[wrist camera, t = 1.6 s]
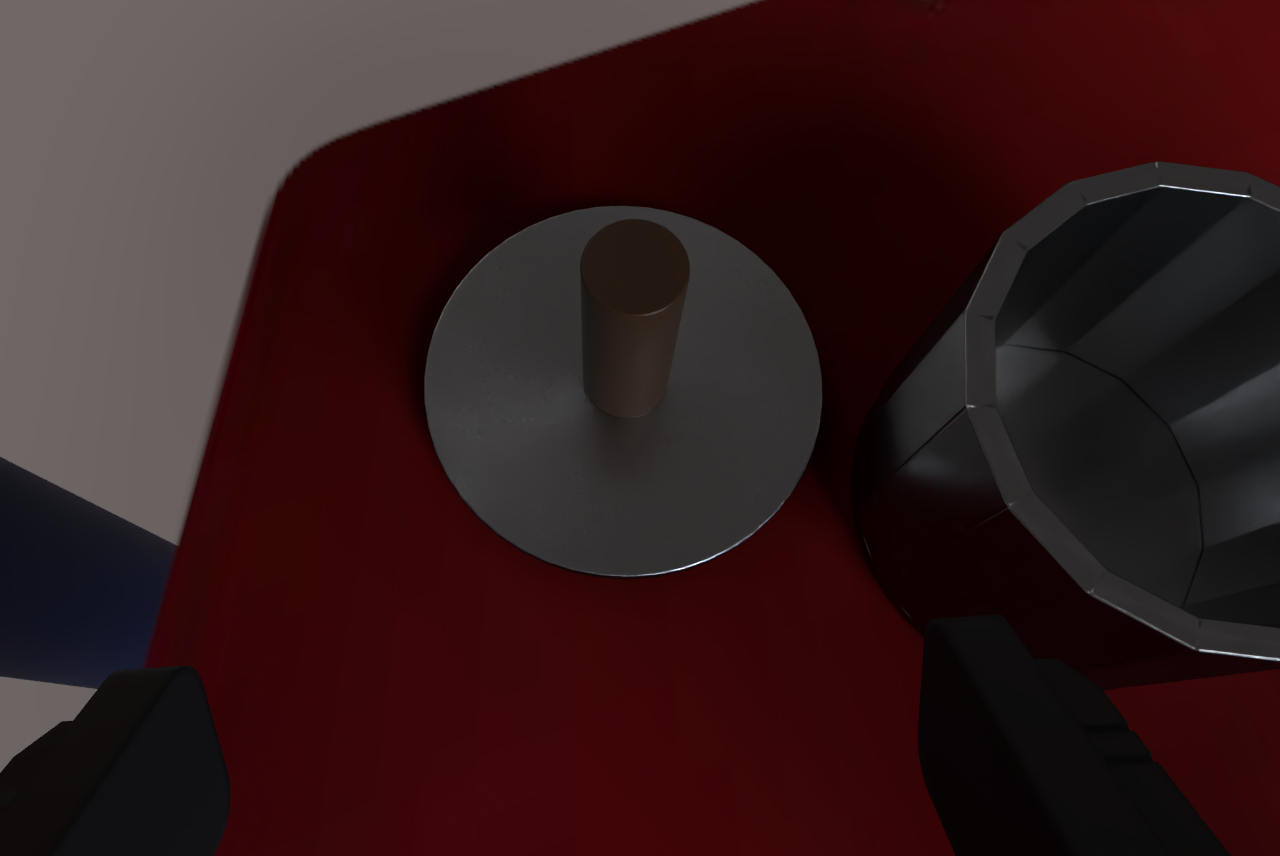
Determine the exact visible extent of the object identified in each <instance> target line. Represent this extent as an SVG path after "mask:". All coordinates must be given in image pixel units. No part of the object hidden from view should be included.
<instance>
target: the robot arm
mask: <svg viewBox="0 0 1280 856" xmlns="http://www.w3.org/2000/svg"><path fill="white" fill-rule="evenodd" d="M918 749H919V757H920V763H921V769H922V773H923V777H924V781H925V784H926V787H927V790H928V792H929V795H930V797H931V800H932V802H933V804H934V807H935V809H936V811H937V813H938V816H939V818H940V820H941V823H942V825H943V827H944V830H945V832H946V834H947V836H948V839H949V841H950V843H951V846H952V848H953V850H954V853H955V855H956V856H1230V854H1229V853H1228V852H1227V851H1226V849H1225V848H1224V847H1223V845H1222V844H1221V843H1220V841H1219V840H1218V839H1217V838H1216V836H1215V835H1214V834H1213V832H1212V831H1211V830H1210V829H1209V827H1208V826H1207V825H1206V823H1205V822H1204V821H1203V819H1202V818H1201V817H1200V816H1199V814H1198V813H1197V812H1196V810H1195V809H1194V808H1193V807H1192V805H1191V804H1190V803H1189V801H1188V800H1187V799H1186V797H1185V796H1184V795H1183V794H1182V792H1181V791H1180V790H1179V788H1178V787H1177V786H1176V785H1175V783H1174V782H1173V781H1172V779H1171V778H1170V777H1169V775H1168V774H1167V773H1166V772H1165V770H1164V769H1163V768H1162V766H1161V765H1160V764H1159V763H1158V762H1153V760H1152V753H1151V752H1150V751H1149V750H1148V748H1147V747H1146V746H1145V744H1144V743H1143V742H1142V741H1141V739H1140V738H1139V737H1138V735H1137V734H1136V733H1135V731H1130V730H1129V728H1128V722H1127V721H1126V720H1125V719H1124V717H1123V716H1122V715H1121V713H1120V712H1119V711H1118V709H1117V708H1116V707H1115V706H1114V704H1113V703H1112V702H1111V700H1110V699H1109V698H1108V697H1107V695H1106V694H1105V693H1104V691H1103V690H1102V689H1101V687H1099V686H1098V685H1096V684H1095V683H1093V682H1092V681H1091V680H1089V679H1088V678H1086V677H1085V676H1083V675H1082V674H1080V673H1079V672H1077V671H1076V670H1074V669H1073V668H1071V667H1070V666H1069V665H1067V664H1066V663H1064V662H1063V661H1061V660H1060V659H1058V658H1046V659H1034V658H1033V656H1032V655H1031V654H1030V652H1029V651H1028V649H1027V648H1026V646H1025V645H1024V644H1023V642H1022V641H1021V639H1020V638H1019V636H1018V635H1017V634H1016V632H1015V631H1014V629H1013V628H1012V626H1011V625H1010V624H1009V622H1008V621H1007V620H1006V619H1005V618H1004V617H1003V616H1002V615H999V614H997V615H982V616H967V617H952V618H937V619H931V620H930V621H929V622H928V624H927V627H926V631H925V637H924V650H923V664H922V678H921V692H920V706H919V720H918ZM229 807H230V782H229V776H228V772H227V768H226V764H225V761H224V757H223V754H222V750H221V746H220V743H219V739H218V736H217V732H216V729H215V725H214V721H213V718H212V714H211V711H210V707H209V703H208V700H207V696H206V693H205V689H204V685H203V682H202V680H201V677H200V675H199V674H198V672H197V671H196V670H195V669H194V668H193V667H191V666H176V667H161V668H145V669H130V670H118V671H116V672H114V673H112V674H111V675H109V677H108V678H107V679H106V680H105V681H104V682H103V684H102V685H101V686H100V687H99V689H98V690H97V691H96V692H95V694H94V695H93V696H92V697H91V699H90V700H89V701H88V703H87V704H86V705H85V707H84V708H83V709H82V710H81V712H80V713H79V714H78V715H77V717H76V718H75V719H74V720H73V721H63V722H61V723H59V724H58V725H57V726H55V727H54V728H52V729H51V730H50V731H48V732H47V733H46V734H44V735H43V736H42V737H40V738H39V739H38V740H36V741H35V742H33V743H32V744H31V745H29V746H28V747H27V748H25V749H24V750H23V751H21V752H20V753H19V754H17V755H16V756H14V757H13V758H12V760H11V761H10V762H9V763H8V765H7V766H6V767H5V768H4V769H3V771H2V772H1V773H0V856H213V855H214V853H215V851H216V849H217V847H218V845H219V843H220V841H221V838H222V836H223V834H224V831H225V827H226V824H227V820H228V814H229Z"/></svg>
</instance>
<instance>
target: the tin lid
mask: <svg viewBox="0 0 1280 856" xmlns="http://www.w3.org/2000/svg"><path fill="white" fill-rule="evenodd" d="M424 404H425V411H426V417H427V424H428V429H429V432H430V436H431V439H432V442H433V445H434V449H435V452H436V454H437V456H438V458H439V460H440V463H441V465H442V467H443V469H444V471H445V473H446V475H447V477H448V479H449V481H450V482H451V484H452V485H453V487H454V488H455V490H456V491H457V493H458V494H459V496H460V497H461V499H462V501H463V502H464V503H465V504H466V505H467V506H468V507H469V509H470V510H471V511H472V512H473V513H474V514H475V515H476V517H477V518H478V519H479V520H480V521H481V522H482V523H483V524H485V525H486V526H487V527H488V528H489V529H490V530H491V531H493V532H494V533H495V534H496V535H497V536H498V537H500V538H501V539H502V540H504V541H506V542H507V543H509V544H510V545H512V546H513V547H515V548H516V549H518V550H519V551H521V552H522V553H524V554H526V555H528V556H531V557H533V558H535V559H537V560H539V561H541V562H543V563H545V564H547V565H550V566H553V567H556V568H560V569H563V570H566V571H569V572H572V573H576V574H581V575H587V576H592V577H597V578H609V579H627V580H629V579H642V578H655V577H660V576H665V575H669V574H674V573H679V572H683V571H686V570H689V569H691V568H694V567H697V566H700V565H703V564H706V563H708V562H710V561H712V560H714V559H716V558H718V557H720V556H722V555H724V554H726V553H728V552H730V551H732V550H733V549H734V548H736V547H737V546H739V545H740V544H742V543H743V542H744V541H746V540H747V539H749V538H750V537H752V536H753V535H754V534H755V533H756V532H757V531H758V530H759V529H761V528H762V527H763V526H764V525H765V524H766V523H767V522H768V521H769V520H770V519H771V518H772V517H773V516H774V515H775V514H776V512H777V511H778V510H779V509H780V507H781V506H782V505H783V504H784V503H785V501H786V500H787V499H788V498H789V496H790V495H791V493H792V492H793V490H794V488H795V487H796V485H797V484H798V482H799V480H800V479H801V477H802V475H803V474H804V471H805V469H806V467H807V464H808V462H809V460H810V457H811V455H812V453H813V450H814V446H815V443H816V439H817V435H818V431H819V428H820V421H821V412H822V404H823V395H822V374H821V368H820V362H819V356H818V352H817V349H816V345H815V342H814V339H813V335H812V332H811V330H810V328H809V326H808V323H807V321H806V319H805V317H804V315H803V312H802V310H801V309H800V307H799V305H798V304H797V302H796V301H795V299H794V297H793V296H792V294H791V292H790V291H789V289H788V288H787V287H786V286H785V284H784V283H783V282H782V281H781V280H780V278H779V277H778V276H777V275H776V273H775V272H774V271H773V270H772V269H771V268H770V267H769V266H768V265H767V264H766V263H765V262H764V261H763V260H761V259H760V258H759V257H758V256H757V255H756V254H755V253H754V252H752V251H751V250H750V249H748V248H747V247H746V246H744V245H743V244H742V243H740V242H739V241H738V240H736V239H734V238H733V237H731V236H729V235H727V234H726V233H724V232H722V231H720V230H719V229H717V228H715V227H713V226H710V225H708V224H706V223H703V222H701V221H699V220H696V219H694V218H691V217H687V216H684V215H681V214H678V213H674V212H671V211H666V210H660V209H655V208H649V207H638V206H623V205H622V206H601V207H593V208H587V209H581V210H575V211H571V212H568V213H564V214H561V215H557V216H554V217H550V218H548V219H546V220H543V221H541V222H538V223H536V224H534V225H531V226H529V227H527V228H525V229H523V230H522V231H520V232H518V233H516V234H515V235H513V236H511V237H509V238H508V239H506V240H505V241H504V242H502V243H501V244H500V245H498V246H497V247H495V248H494V249H493V250H491V251H490V252H489V253H488V254H487V255H486V256H484V257H483V258H482V259H481V260H480V261H479V262H478V263H477V264H476V265H475V266H474V267H473V268H472V269H471V270H470V271H469V273H468V274H467V275H466V276H465V278H464V279H463V280H462V281H461V283H460V284H459V285H458V286H457V288H456V289H455V290H454V292H453V294H452V295H451V297H450V299H449V300H448V302H447V304H446V305H445V307H444V309H443V311H442V313H441V315H440V318H439V320H438V322H437V325H436V327H435V329H434V332H433V335H432V339H431V343H430V346H429V350H428V353H427V360H426V367H425V375H424Z"/></svg>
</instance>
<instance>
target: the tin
mask: <svg viewBox="0 0 1280 856" xmlns="http://www.w3.org/2000/svg"><path fill="white" fill-rule="evenodd" d="M851 502H852V508H853V515H854V521H855V526H856V530H857V533H858V536H859V540H860V543H861V546H862V550H863V552H864V554H865V556H866V559H867V561H868V563H869V566H870V568H871V570H872V572H873V574H874V576H875V577H876V579H877V581H878V582H879V584H880V586H881V588H882V589H883V591H884V593H885V594H886V596H887V597H888V598H889V600H890V601H891V602H892V603H893V605H894V606H895V607H896V609H897V610H898V611H899V613H900V614H901V615H902V616H903V617H904V618H905V619H906V620H907V621H908V622H909V623H910V624H911V625H912V626H913V628H914V629H915V630H916V631H917V632H918V633H919V634H920V635H922V636H923V637H925V631H926V627H927V624H928V622H929V621H930V620H931V619H937V618H952V617H967V616H982V615H997V614H999V615H1002V616H1003V617H1004V618H1005V619H1006V620H1007V621H1008V622H1009V624H1010V625H1011V626H1012V628H1013V629H1014V631H1015V632H1016V634H1017V635H1018V636H1019V638H1020V639H1021V641H1022V642H1023V644H1024V645H1025V646H1026V648H1027V649H1028V651H1029V652H1030V654H1031V655H1032V656H1033V658H1034V659H1046V658H1058V659H1060V660H1061V661H1063V662H1064V663H1066V664H1067V665H1069V666H1070V667H1071V668H1073V669H1074V670H1076V671H1077V672H1079V673H1080V674H1082V675H1083V676H1085V677H1086V678H1088V679H1089V680H1091V681H1092V682H1093V683H1095V684H1096V685H1098V686H1099V687H1101V689H1102V690H1111V689H1119V688H1128V687H1136V686H1144V685H1152V684H1160V683H1168V682H1176V681H1185V680H1193V679H1201V678H1209V677H1217V676H1225V675H1234V674H1242V673H1250V672H1258V671H1266V670H1274V669H1280V187H1279V186H1277V185H1274V184H1272V183H1270V182H1268V181H1266V180H1264V179H1261V178H1259V177H1257V176H1255V175H1252V174H1250V173H1247V172H1239V171H1231V170H1223V169H1215V168H1207V167H1199V166H1191V165H1183V164H1175V163H1167V162H1159V161H1157V162H1155V163H1154V162H1152V163H1148V164H1143V165H1139V166H1135V167H1131V168H1126V169H1122V170H1118V171H1114V172H1110V173H1105V174H1101V175H1097V176H1093V177H1088V178H1084V179H1080V180H1076V181H1072V182H1068V183H1066V184H1065V185H1064V186H1062V187H1061V188H1060V189H1058V190H1057V191H1056V192H1054V193H1053V194H1052V195H1050V196H1049V197H1048V198H1047V199H1045V200H1044V201H1043V202H1041V203H1040V204H1039V205H1037V206H1036V207H1035V208H1034V209H1032V210H1031V211H1030V212H1028V213H1027V214H1026V215H1024V216H1023V217H1022V218H1021V219H1019V220H1018V221H1017V222H1015V223H1014V224H1013V225H1011V226H1010V227H1009V228H1007V229H1006V230H1005V231H1004V232H1003V233H1002V234H1001V235H1000V236H999V237H998V239H997V240H996V241H995V243H994V244H993V245H992V246H991V248H990V249H989V250H988V251H987V253H986V254H985V255H984V256H983V258H982V259H981V260H980V262H979V263H978V264H977V265H976V267H975V268H974V269H973V270H972V272H971V273H970V274H969V276H968V277H967V278H966V279H965V281H964V282H963V283H962V284H961V286H960V287H959V288H958V289H957V291H956V292H955V293H954V295H953V296H952V297H951V298H950V300H949V301H948V302H947V303H946V305H945V306H944V307H943V308H942V310H941V311H940V312H939V314H938V315H937V316H936V317H935V319H934V320H933V321H932V322H931V324H930V325H929V326H928V327H927V329H926V330H925V331H924V333H923V334H922V335H921V336H920V338H919V339H918V340H917V341H916V343H915V344H914V345H913V346H912V348H911V349H910V350H909V352H908V353H907V354H906V355H905V357H904V358H903V359H902V360H901V362H900V363H899V364H898V365H897V367H896V368H895V369H894V371H893V372H892V373H891V374H890V376H889V377H888V378H887V379H886V381H885V382H884V384H883V386H882V388H881V390H880V392H879V394H878V396H877V398H876V400H875V401H874V403H873V405H872V407H871V408H870V410H869V412H868V413H867V415H866V418H865V420H864V422H863V425H862V427H861V430H860V432H859V434H858V436H857V440H856V447H855V451H854V455H853V462H852V471H851Z"/></svg>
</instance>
